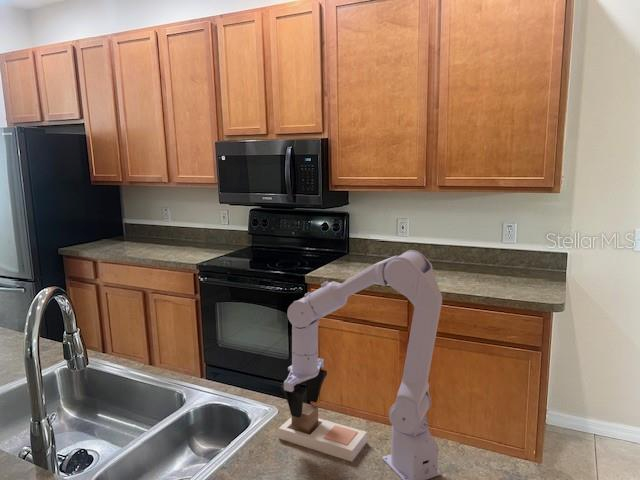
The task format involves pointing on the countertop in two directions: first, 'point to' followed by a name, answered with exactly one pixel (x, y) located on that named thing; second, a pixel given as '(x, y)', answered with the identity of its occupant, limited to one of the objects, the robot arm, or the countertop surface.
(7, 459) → the countertop surface
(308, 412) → the plug
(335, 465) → the countertop surface
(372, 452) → the countertop surface
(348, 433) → the socket block
